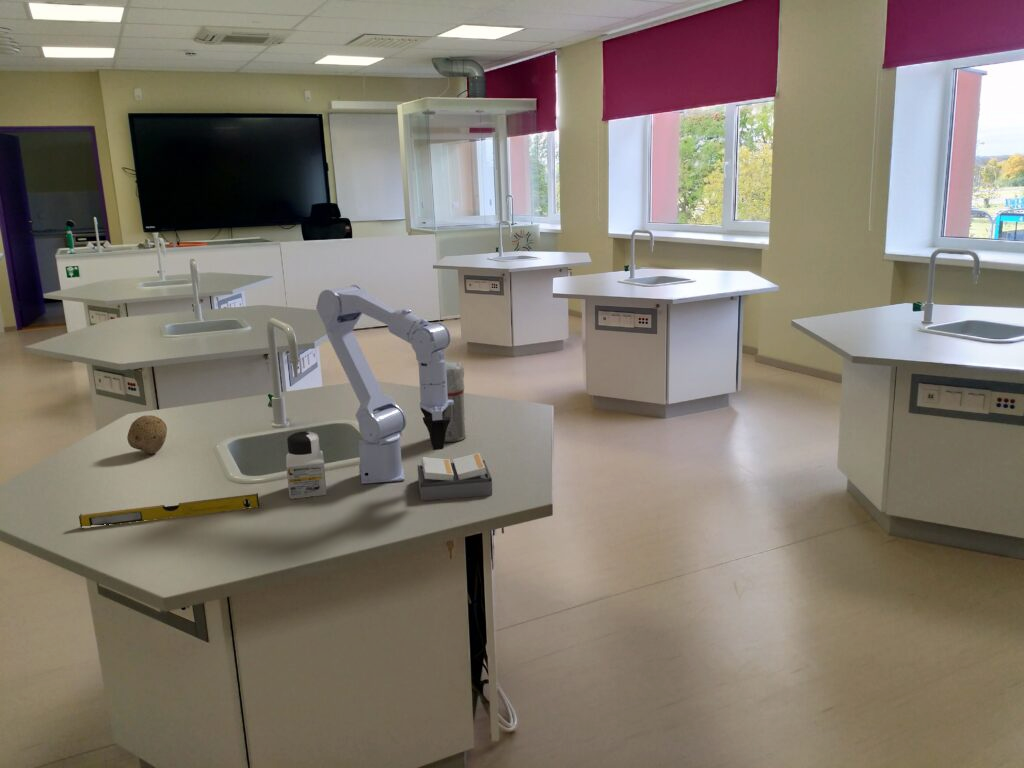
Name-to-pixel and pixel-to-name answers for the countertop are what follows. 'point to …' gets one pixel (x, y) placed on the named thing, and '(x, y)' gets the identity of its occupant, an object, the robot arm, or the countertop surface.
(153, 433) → the brown potato
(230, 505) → the spirit level
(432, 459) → the panel
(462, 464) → the rocker right
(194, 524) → the countertop surface
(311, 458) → the container
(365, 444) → the robot arm
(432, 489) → the grey divided tray
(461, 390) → the spray can
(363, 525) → the countertop surface
